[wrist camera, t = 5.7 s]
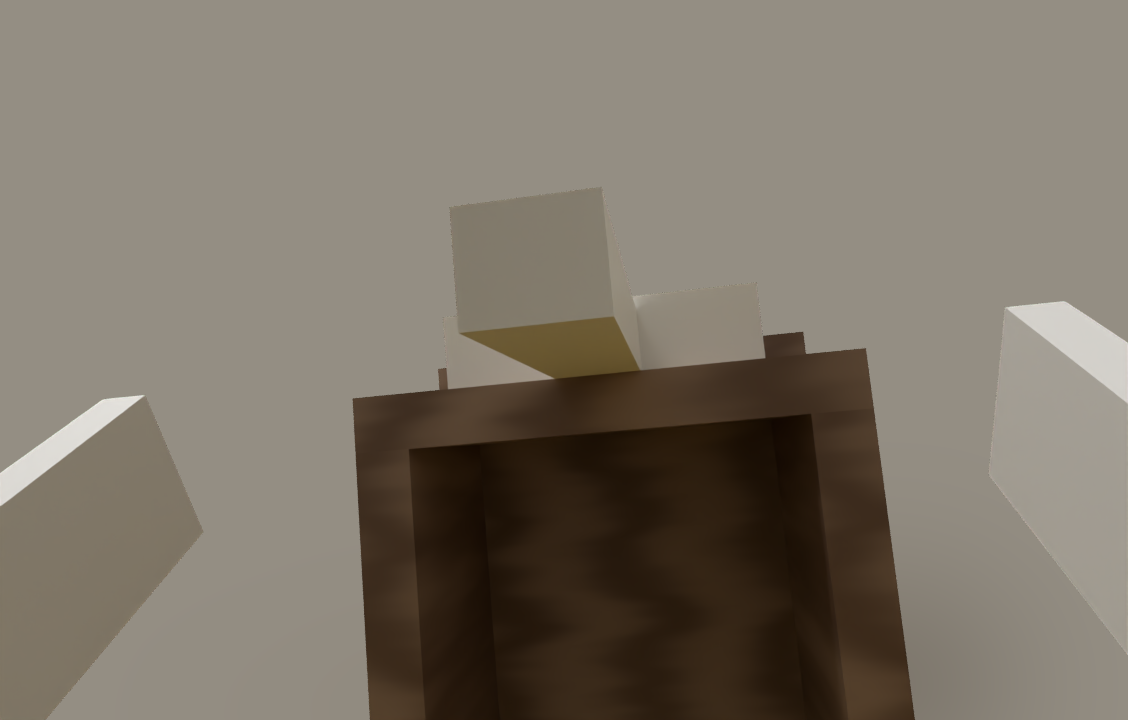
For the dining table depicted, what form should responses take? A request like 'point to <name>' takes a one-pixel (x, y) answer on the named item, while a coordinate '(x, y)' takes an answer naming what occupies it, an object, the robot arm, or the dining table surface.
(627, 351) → the beige stepped block
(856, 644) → the walnut stand
